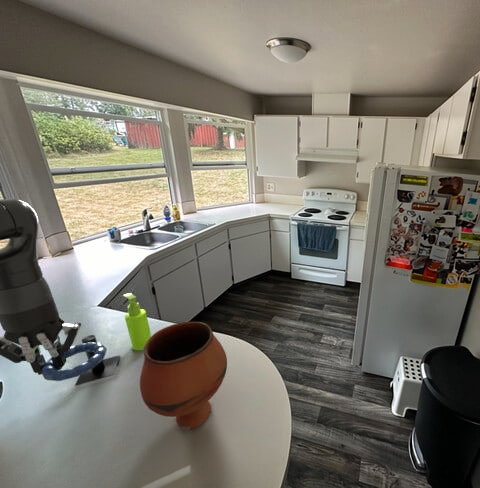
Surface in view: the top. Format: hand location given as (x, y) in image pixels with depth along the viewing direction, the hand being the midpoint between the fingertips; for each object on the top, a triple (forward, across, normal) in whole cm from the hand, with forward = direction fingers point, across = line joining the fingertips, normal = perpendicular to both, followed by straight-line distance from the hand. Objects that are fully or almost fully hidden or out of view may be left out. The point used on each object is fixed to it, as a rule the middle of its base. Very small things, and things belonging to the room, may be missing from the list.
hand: (51, 369), depth 55 cm
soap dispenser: (+20, -9, -30) cm, 37 cm away
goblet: (+20, -26, +7) cm, 33 cm away
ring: (-1, -4, 0) cm, 4 cm away
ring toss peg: (+20, 0, -21) cm, 29 cm away
